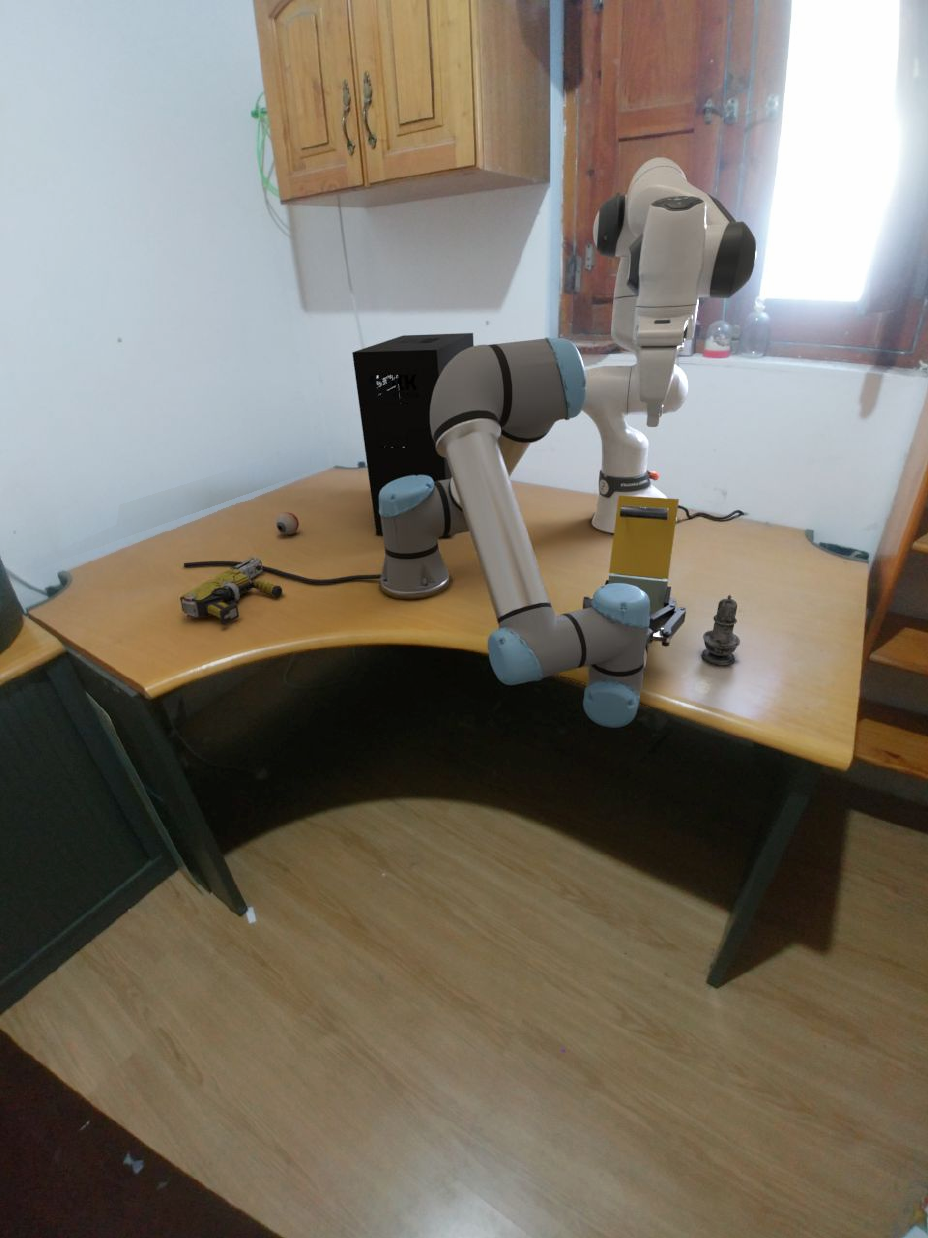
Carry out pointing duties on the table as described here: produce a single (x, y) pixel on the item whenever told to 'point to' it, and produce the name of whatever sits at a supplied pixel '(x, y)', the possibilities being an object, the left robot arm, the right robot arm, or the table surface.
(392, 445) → the black computer tower
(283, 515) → the eyeball
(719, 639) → the dark grey chess piece
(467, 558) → the table surface
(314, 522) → the table surface
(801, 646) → the table surface
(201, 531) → the table surface
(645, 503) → the lid
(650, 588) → the chest
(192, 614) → the yellow angle grinder
